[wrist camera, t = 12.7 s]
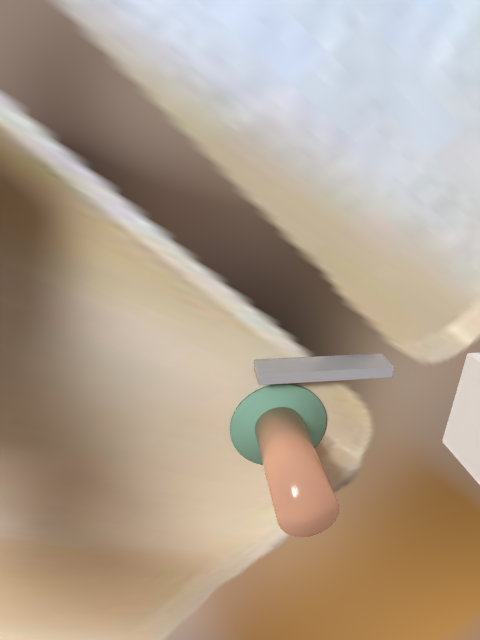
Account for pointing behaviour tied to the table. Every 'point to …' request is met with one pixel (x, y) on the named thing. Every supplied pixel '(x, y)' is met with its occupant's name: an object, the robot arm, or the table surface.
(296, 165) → the table surface
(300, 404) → the pad
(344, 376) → the rail
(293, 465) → the peach rounded cylinder
